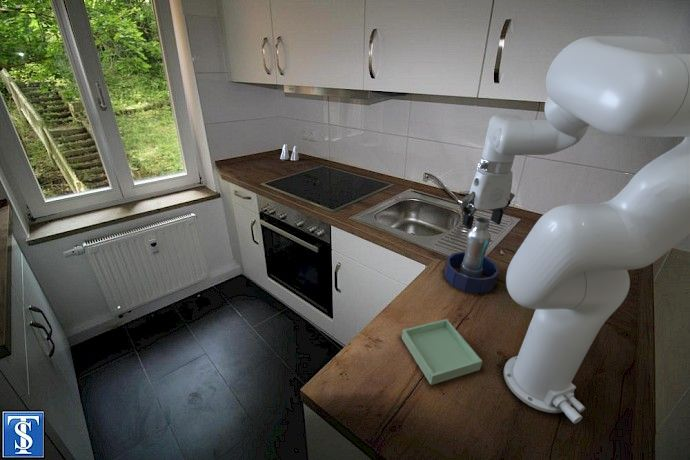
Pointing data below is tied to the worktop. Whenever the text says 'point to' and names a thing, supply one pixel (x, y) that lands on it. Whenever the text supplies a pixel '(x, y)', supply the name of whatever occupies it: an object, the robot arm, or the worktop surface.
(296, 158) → the shaker set
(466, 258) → the plastic bottle
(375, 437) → the worktop surface
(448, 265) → the blue ring
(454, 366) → the tray
